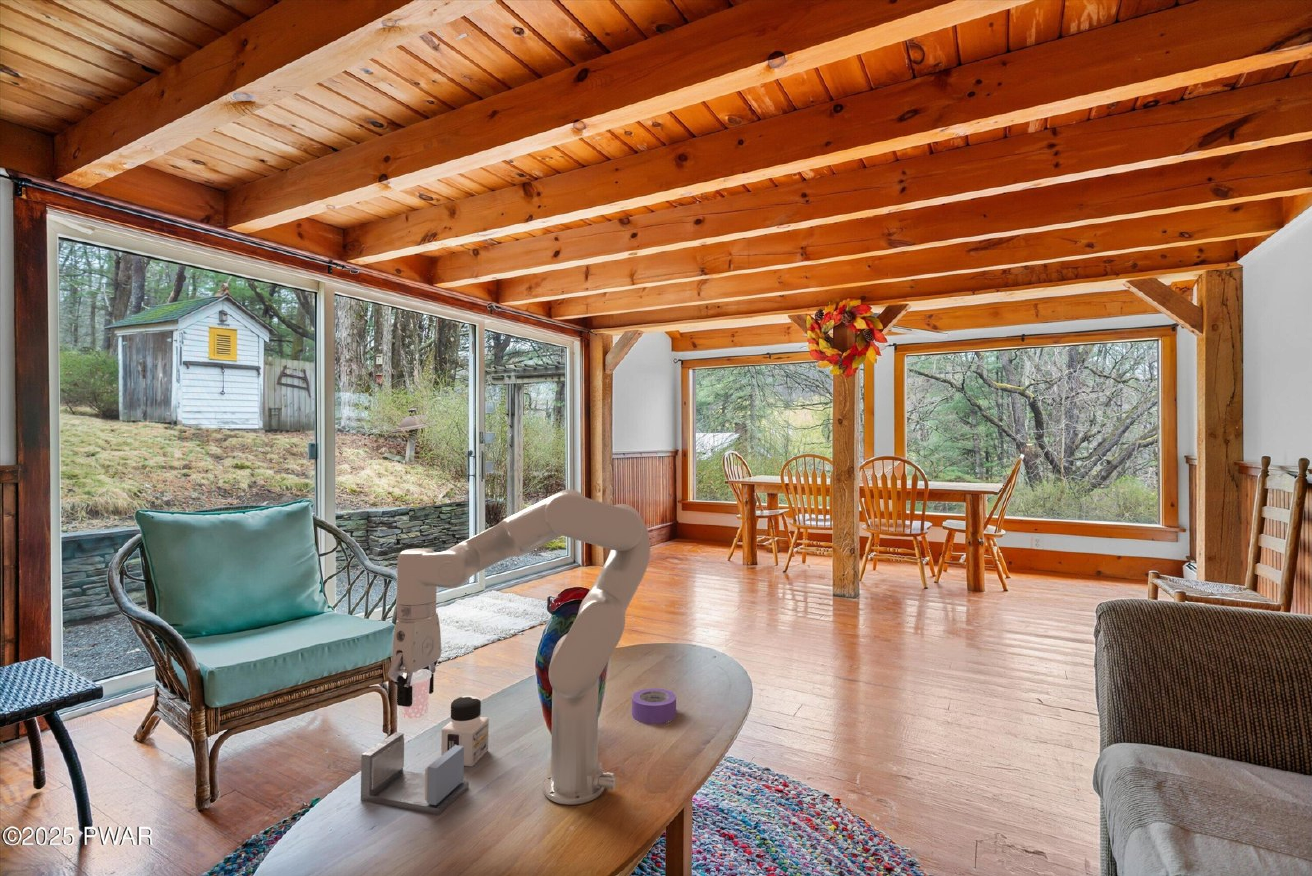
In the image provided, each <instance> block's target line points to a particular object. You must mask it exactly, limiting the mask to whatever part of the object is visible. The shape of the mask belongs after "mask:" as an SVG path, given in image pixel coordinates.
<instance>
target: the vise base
mask: <svg viewBox="0 0 1312 876" xmlns="http://www.w3.org/2000/svg"><path fill="white" fill-rule="evenodd" d="M404 736H405V735H404V733H403V732H397V731H396V732H394V733H392V734H391V735H389V736H388V737H386V738H384V739H383V740H381V741H380V742H379V743H378V742H377V744H375V745H373V746H372V747H370V748H369V749H368V750H365V752H363V753H361V757H360V759H361V763H360V764H361V766H360V770H361V771H360V801H364V802H369V803H374V804H379V805H384V806H385V805H386V806H389V807H395V808H399V809H400V808H401V809H405V810H411V811H415V812H420V813H425V814H431V815H436V816H440V815H441V814H442V813H443V812H444V811H445V810H446V809H447V808H449V807H450V805H452V804H453V803H454V802H455V801H456V800H457V799H458V798H460V796H461V795H463V794H464V793H465V792H466V791H467V790H468V789H469V786H470V784H469V783H470V782H469V781H465V780H463V781H462V782H461V783H460V784H459V785H458V786H457V787H456V788H455V789H453V790H452V791H451V792H450V793H449V794H448V795H447V796H446V797H445V798H443V799H442V800H441V801H440V802H439V803H438V804H437V805H432V804H427V801H425V773H421V772H416V771H409V770H404V767H405V738H404Z"/></svg>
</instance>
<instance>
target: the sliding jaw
mask: <svg viewBox="0 0 1312 876" xmlns="http://www.w3.org/2000/svg"><path fill="white" fill-rule="evenodd" d="M464 768H465V767H464V746H459V745H455V746H454V747H452V748H451V749H450V750H448V751H447V752H446V753H445V754H443V755H442V756H441V755H440V757H438V758H437V759H435V760H434V761H433V762H432V763H430V764H429V765H428V766H427V767H426V768H425V769H424V770H425V772H424V774H425V801H427V804H432V805H437V804H438V803H439V802H440V801H441V800H442V799H443V798H445V797H446V796H447V795H448V794H449V793H450V792H451V791H452V790H453V789H455V788H456V787H457V786H458V785H459V784H460V783H461V782H462V781H464V771H465V770H464Z"/></svg>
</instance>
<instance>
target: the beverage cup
mask: <svg viewBox="0 0 1312 876" xmlns="http://www.w3.org/2000/svg"><path fill="white" fill-rule="evenodd" d="M431 674H433V673H432V672H431V671H430V670H427V669H421V670H419V671H417V672H414V673H413V675H412V679H411V683H410V686H412V706H410V707H405V706H401V709H402V722H403V723H405V724H409V725H410V724H417V723H421V722H423V721H425V720H427V718H428V710H429V709H428V708H429V695H430V694H429V686H430V678H431ZM406 675H407V673H403V677H404V678H405V679H406Z"/></svg>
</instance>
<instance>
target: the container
mask: <svg viewBox="0 0 1312 876" xmlns="http://www.w3.org/2000/svg"><path fill="white" fill-rule="evenodd" d="M481 712H482V700H481V699H480V698H479V697H477V696H475V695H464V696H463V695H462V696H460V697H457V698H455V699H453V700H452V702H451V704H450V721H449V722H448V723H447V724H445V725H444V726H443V727H442V729H441V745H440V747H441V749H440V750H441V754H440V757H441V756H442V755H443V754H445V753H446V752H447V751H448V750H450V749H451V748H452V747H454V746H455V745H459V746H464V766H465V767H473V766H474V765H476V763H477V762H478V761H479V760H480V759H481V758H482V757H483V756H484V755H485V754H486V753H487V752H488V751H489V725H490V724H489V723H490V722H489V717H487V716H486V717H485V716H482V715H481V714H482V713H481Z"/></svg>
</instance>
